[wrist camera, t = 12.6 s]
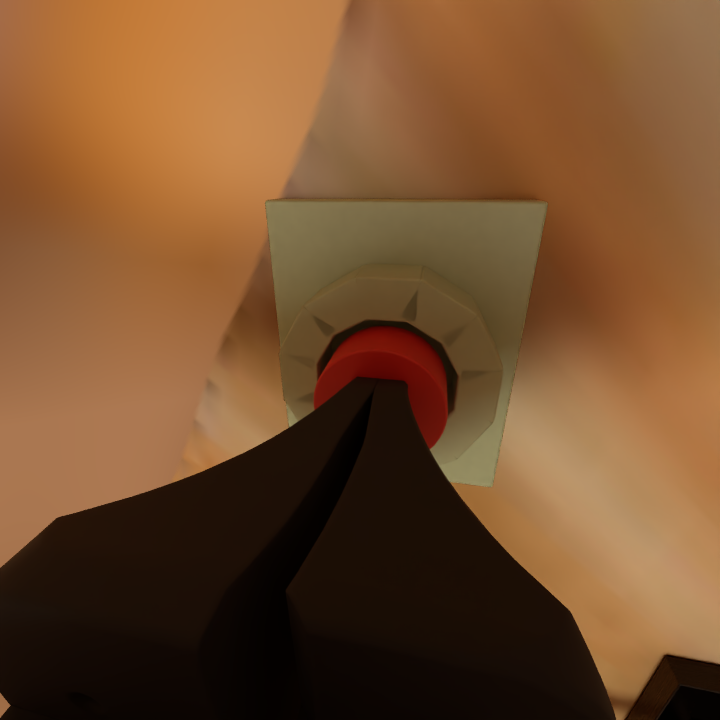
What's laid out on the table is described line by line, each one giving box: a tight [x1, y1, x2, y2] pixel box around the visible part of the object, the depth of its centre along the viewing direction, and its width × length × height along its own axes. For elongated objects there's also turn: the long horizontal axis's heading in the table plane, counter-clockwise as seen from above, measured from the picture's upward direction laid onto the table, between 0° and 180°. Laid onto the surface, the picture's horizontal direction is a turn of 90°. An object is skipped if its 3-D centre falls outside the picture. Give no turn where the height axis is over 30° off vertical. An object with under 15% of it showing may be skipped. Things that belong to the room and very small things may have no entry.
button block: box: [265, 199, 548, 487], centre depth 12 cm, size 10×8×3 cm
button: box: [314, 326, 448, 449], centre depth 11 cm, size 4×4×2 cm
